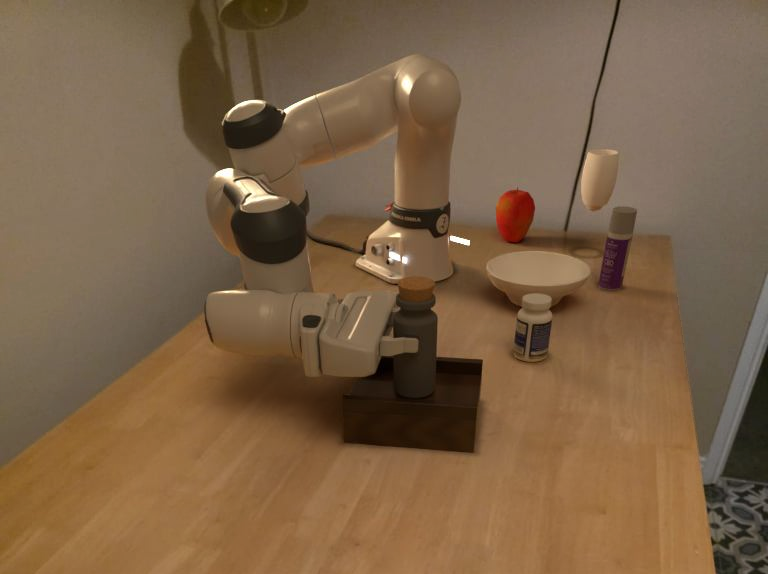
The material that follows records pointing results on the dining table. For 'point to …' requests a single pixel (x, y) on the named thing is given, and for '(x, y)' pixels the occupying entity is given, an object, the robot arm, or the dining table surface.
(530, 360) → the pill bottle
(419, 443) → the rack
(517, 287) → the bowl
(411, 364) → the bottle
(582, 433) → the dining table surface
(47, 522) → the dining table surface
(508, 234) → the apple
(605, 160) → the cup
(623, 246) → the container
